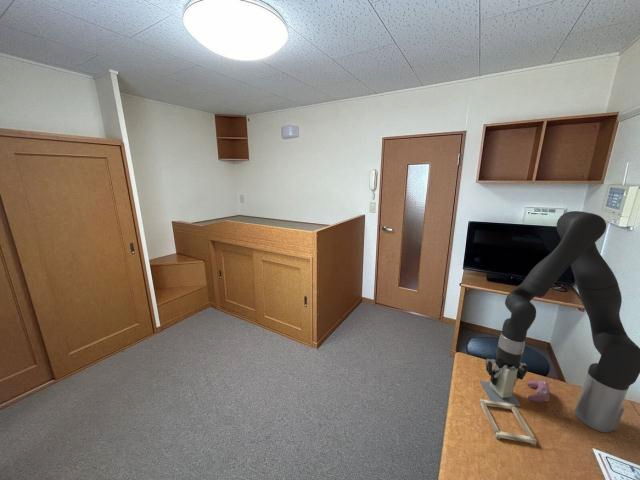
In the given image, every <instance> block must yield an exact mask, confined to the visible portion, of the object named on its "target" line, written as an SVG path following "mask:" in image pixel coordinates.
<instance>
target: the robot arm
mask: <svg viewBox="0 0 640 480" xmlns="http://www.w3.org/2000/svg"><path fill="white" fill-rule="evenodd" d="M606 229H607V222H606V220H605V219H604V218H603V217H602V216H600V215H599V214H596V213H593V212H586V211H579V210H573V211H568V212H565V213H563V214H561V215H560V216H559V218H558V219H557V221H556V231H557V233H558V235H559V237H560V242H559V243H558V245H557V246H556V247H555V248H554V250H552V252H550V253H549V254H548V255H547V256H545V257H544V258H543V259H542V260H541V261H539V262H538V263H536V265H535V266H534V267H533V268H532V269H531V270H530V271H529V273H528V274H527V275H526V277H525V278H524V279H523V281H522V283H520V284H519V285H517V286H516V287H515V288H514V289H513V290H512V291H510V292H509V294H507V295H506V297H505V300H504V305H505V307H506V309H507V310H508V311H509V312H510V318H506V319H505V320H504V322H503V324H502V328H501V334H500V335H499V338H498V341H497V342H498V343H497V348H496V351H495V353H496V354H495V357H494V358H492V359H490V358H489V357H485V368H486V369H485V370H486V371H487V372H486V373H488V376H489V377H490V382H492V384H493V385H496V383H497V379H498V378H497V377H498V375H499V374H502V372H503V369H504V368H507V367H511V369H515V368H516V369H518V371H517V375H516V380H515V384H514V387H515V386H516V383H517V380H518V379H519V380H521V381H522V380H524V378H525V376H526V374H527V372H528V371H529V368H530V367H529V366H528V365H527V364H526V363H525V362H524V361H523V362H521V361H522V359H523V354H524V350H525V345H526V338H527V334H528V330H529V329H530V328H531V326H532V325H533V324H534V322H535V320H536V316H537V308H536V307H535V305H534V304H533V303H532V300H533V299H535V297H537V298H543V297H544V296H545V295H547V293H549V291H551V288H552V287H553V286H554V285H555V283H556V282H557V281H558V279H559V278H561V276H562V275H563V273H565V271H566V270H567V269H568V268H569V267H571V271H572V273H573V274H572V275H573V277H574V281H575V285H576V288H577V291H578V295H579V297H580V300H581V303H582V305H583V307H584V310H585V312H586V315H587V317H588V319H589V323H590V329H591V331H590V332H591V339H592V342H593V345H594V347H595V349H596V350H597V352H598V353H599V354H600V358H599V361H598V362H594V363H591V364H590V365H589V366H588V369H587V373H586V376H585V378H584V382H583V385H582V388H581V390H580V394H579V395H578V396H579V397H578V399H577V403H576V406H575V409H574V414H575V416H576V418H577V419H579V421H581V422H582V423H583V424H585V425H586V426H587V427H589V428H591V429H593V430H596V431H598V432H601V433H606V434H607V433H611V432H612V431H617V428H618V426H619V423H620V420H621V419H622V415H623V413H624V410H625V407H624V405H623V403H624V401H625V398H626V396H627V393H628V391H629V388H630V387H631V385H633V384H635V383H636V382H637V380H638V377H639V375H640V347H639V346H638V345H637V344H636V343H635V342H634V341H633V340H632V339H631V338H630V336H629V335H628V334H627V332H626V330H625V328H624V325H623V323H622V321H621V316H620V315H621V314H620V312H621V308H622V302H623V301H622V299H623V298H622V292H621V290H620V286H619V283H618V280H617V277H616V275H615V274H614V272H613V270H612V268H611V267H610V266H609V264H608V263H607V261H606V260H605V259H604V257H603V256H602V255H601V252H599V249H598V247H597V244H596V242H597V241H599V239H601V238H602V237H603V235H604V234H605V233H606V231H607V230H606ZM494 363H496V364H495V365H494ZM496 365H497V366H498V368H499V369H498V368H497V367H496Z"/></svg>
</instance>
